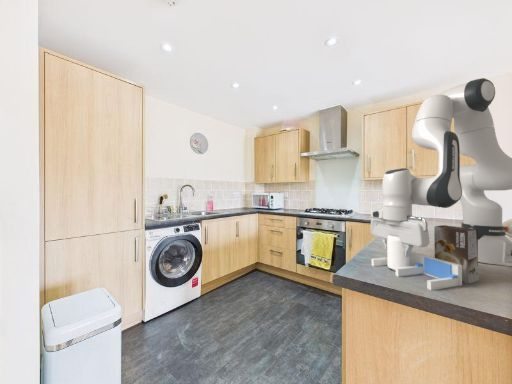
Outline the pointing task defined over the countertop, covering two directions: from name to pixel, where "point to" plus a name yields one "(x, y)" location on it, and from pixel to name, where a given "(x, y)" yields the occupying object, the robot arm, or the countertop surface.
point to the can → (396, 253)
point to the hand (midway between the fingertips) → (396, 253)
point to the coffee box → (458, 249)
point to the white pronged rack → (429, 270)
